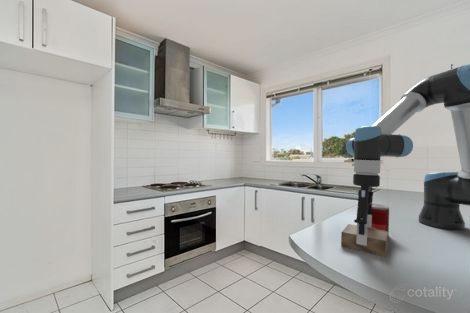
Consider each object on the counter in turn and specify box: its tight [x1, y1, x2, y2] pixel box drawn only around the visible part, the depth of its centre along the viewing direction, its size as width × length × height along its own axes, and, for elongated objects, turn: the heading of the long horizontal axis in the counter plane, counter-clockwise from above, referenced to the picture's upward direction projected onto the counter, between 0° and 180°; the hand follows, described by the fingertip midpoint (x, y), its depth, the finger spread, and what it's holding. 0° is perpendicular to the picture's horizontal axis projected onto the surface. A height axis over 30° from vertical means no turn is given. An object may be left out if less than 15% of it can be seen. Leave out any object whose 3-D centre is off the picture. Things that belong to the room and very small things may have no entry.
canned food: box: [370, 203, 390, 236], centre depth 85 cm, size 8×8×11 cm
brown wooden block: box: [340, 223, 390, 258], centre depth 74 cm, size 12×11×5 cm
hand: (364, 238), depth 74 cm, fingers open, 13 cm apart
